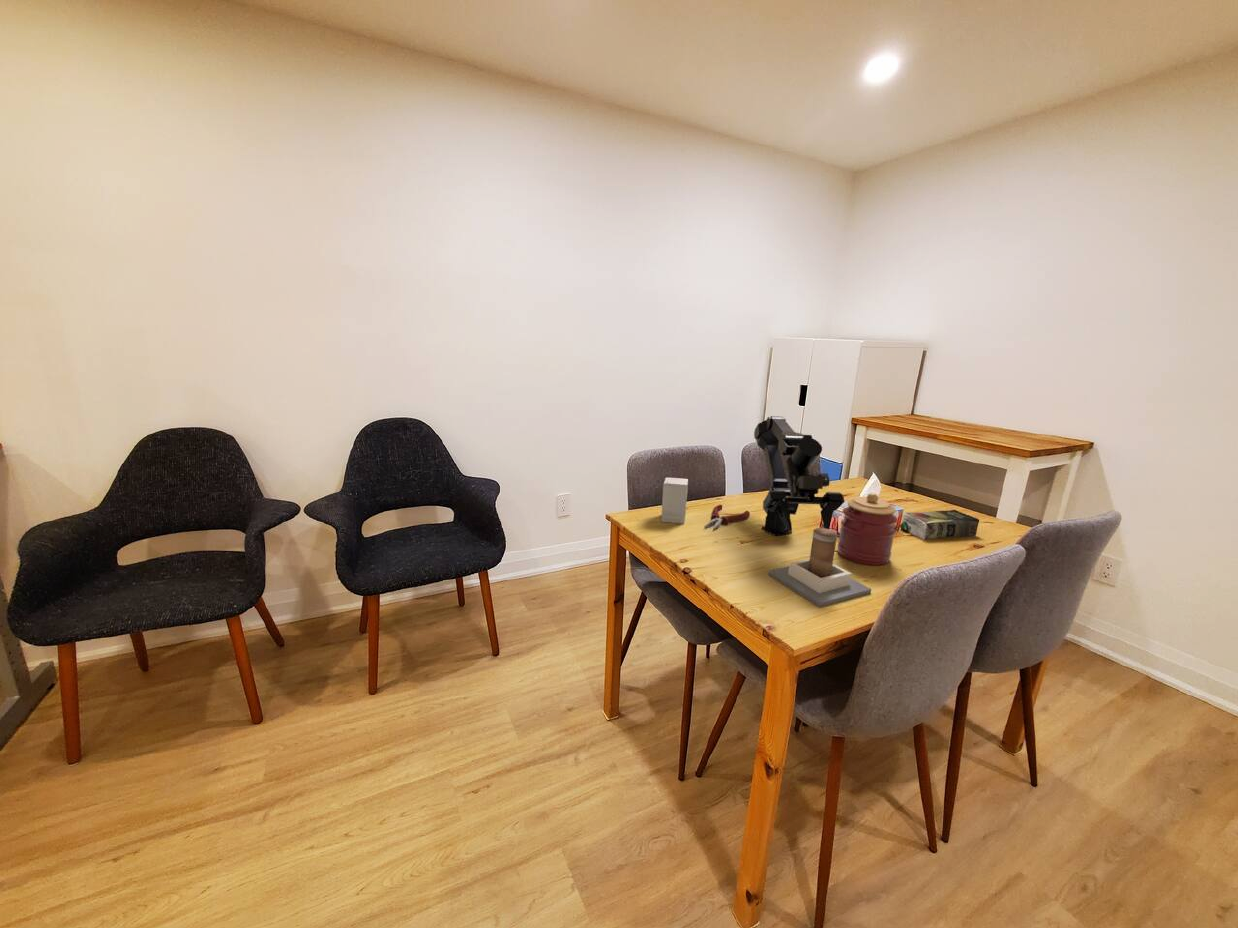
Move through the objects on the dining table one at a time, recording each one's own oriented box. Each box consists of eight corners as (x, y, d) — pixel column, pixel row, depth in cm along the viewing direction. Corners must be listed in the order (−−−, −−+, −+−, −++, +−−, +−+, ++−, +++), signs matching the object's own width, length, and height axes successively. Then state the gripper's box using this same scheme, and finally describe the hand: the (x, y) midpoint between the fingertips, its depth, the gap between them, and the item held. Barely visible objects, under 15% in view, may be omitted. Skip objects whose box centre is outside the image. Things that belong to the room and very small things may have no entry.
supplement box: (684, 524, 149) (687, 485, 146) (660, 521, 150) (662, 483, 147) (686, 516, 156) (688, 478, 153) (663, 513, 158) (665, 476, 154)
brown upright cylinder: (811, 572, 118) (817, 526, 115) (832, 579, 115) (840, 532, 112) (803, 579, 114) (810, 532, 111) (826, 587, 111) (833, 538, 108)
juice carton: (921, 541, 142) (925, 521, 141) (896, 528, 151) (899, 510, 150) (977, 538, 147) (981, 518, 145) (949, 526, 156) (952, 508, 154)
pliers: (691, 527, 148) (691, 519, 148) (718, 510, 164) (718, 502, 164) (726, 536, 142) (727, 528, 141) (750, 517, 158) (751, 510, 157)
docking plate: (816, 563, 125) (818, 549, 124) (870, 592, 111) (873, 577, 110) (768, 574, 118) (769, 559, 117) (819, 607, 104) (822, 590, 103)
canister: (826, 549, 134) (835, 488, 130) (859, 542, 139) (869, 484, 135) (865, 569, 122) (877, 503, 118) (901, 562, 128) (913, 498, 123)
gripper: (772, 459, 121) (781, 517, 114) (847, 462, 121) (861, 519, 114) (760, 480, 131) (768, 534, 123) (829, 483, 131) (841, 537, 123)
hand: (809, 531), depth 121 cm, fingers open, 9 cm apart
